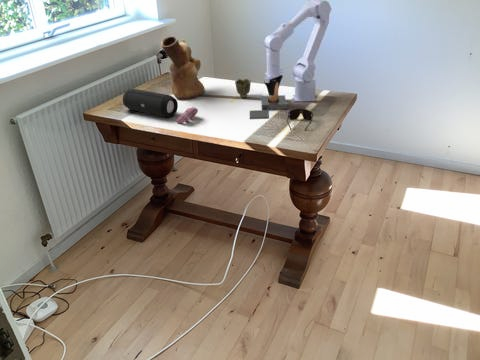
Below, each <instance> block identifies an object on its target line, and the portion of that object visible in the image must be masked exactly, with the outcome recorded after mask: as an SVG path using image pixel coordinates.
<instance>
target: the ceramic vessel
mask: <svg viewBox="0 0 480 360" xmlns="http://www.w3.org/2000/svg"><path fill="white" fill-rule="evenodd" d="M160 44H161V47H162V49H163V51H164V52H165V54H166V55H167V56H168V58H169V60H171V63H170V65H169V71H170V74H171V79H172V80H171V81H172V85H171V90H172V94H173V95H174V96H175V97H176V98H177V99H182V100H184V99H185V100H186V99H192V98H196V97H198V96H200V95H202V94H203V93H205V91H206V89H205V86H204V84H203V83H202V82H201V80H200V79H198V74H199V73H198V72H200V69H201V61H200V59H199V58H195V57H193V56H192V49H191V47H190V46H189V45H188V44H187V43H186V40H185V39H181V42H179V40H178V38H177V37H176V36H168V37H165V38H163V39H162V40H161V42H160Z"/></svg>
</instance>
